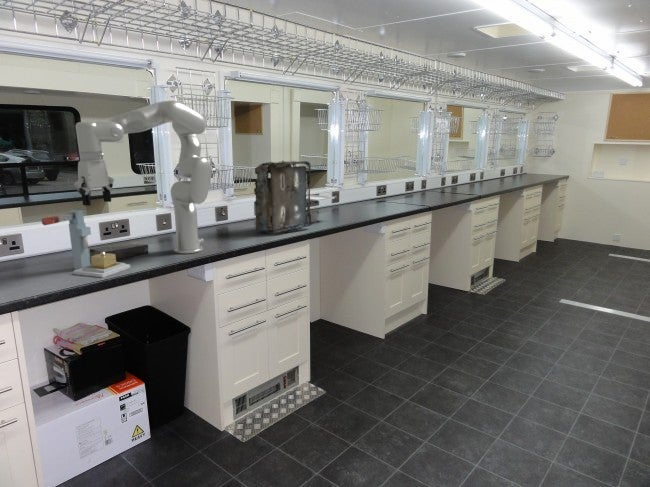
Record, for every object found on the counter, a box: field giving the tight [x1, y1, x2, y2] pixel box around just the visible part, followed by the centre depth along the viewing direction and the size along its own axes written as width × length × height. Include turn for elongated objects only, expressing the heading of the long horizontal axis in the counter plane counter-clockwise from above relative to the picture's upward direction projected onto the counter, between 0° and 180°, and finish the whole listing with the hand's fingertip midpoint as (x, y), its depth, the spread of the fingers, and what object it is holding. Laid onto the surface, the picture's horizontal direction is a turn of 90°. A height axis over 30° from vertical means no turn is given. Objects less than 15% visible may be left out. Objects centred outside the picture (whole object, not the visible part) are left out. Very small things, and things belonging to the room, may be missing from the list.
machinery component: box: [253, 160, 312, 235], centre depth 245 cm, size 33×18×38 cm, turn 133°
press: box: [67, 209, 131, 278], centre depth 173 cm, size 14×19×23 cm
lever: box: [41, 213, 76, 226], centre depth 168 cm, size 15×3×3 cm, turn 161°
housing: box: [90, 252, 117, 270], centre depth 174 cm, size 6×6×6 cm
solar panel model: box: [306, 193, 336, 223], centre depth 279 cm, size 28×17×15 cm, turn 53°
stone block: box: [89, 241, 149, 262], centre depth 197 cm, size 14×20×5 cm
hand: (97, 203), depth 169 cm, fingers open, 9 cm apart
